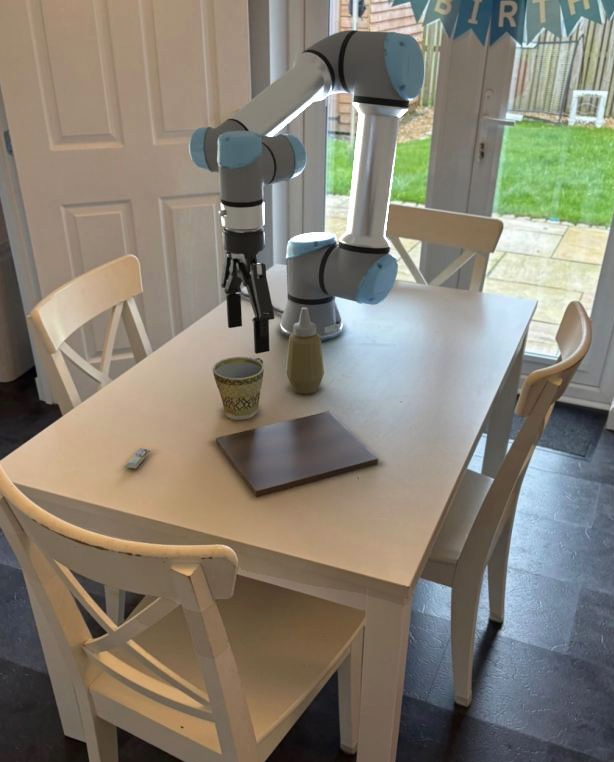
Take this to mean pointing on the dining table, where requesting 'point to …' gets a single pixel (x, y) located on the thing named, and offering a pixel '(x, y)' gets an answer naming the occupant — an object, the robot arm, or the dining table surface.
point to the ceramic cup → (239, 385)
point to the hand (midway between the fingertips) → (248, 338)
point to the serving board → (294, 452)
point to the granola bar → (137, 458)
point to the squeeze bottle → (304, 356)
